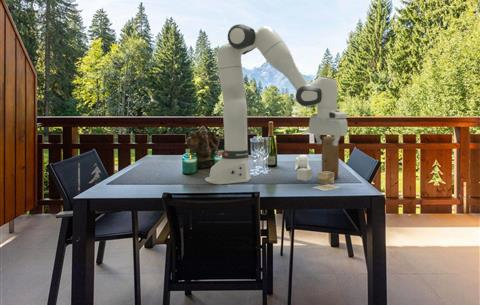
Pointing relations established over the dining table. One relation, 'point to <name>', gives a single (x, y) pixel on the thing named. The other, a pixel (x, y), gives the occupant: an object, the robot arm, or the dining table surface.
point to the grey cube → (304, 174)
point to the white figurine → (301, 162)
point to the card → (326, 187)
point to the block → (330, 156)
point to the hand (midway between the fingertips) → (326, 144)
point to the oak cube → (325, 177)
